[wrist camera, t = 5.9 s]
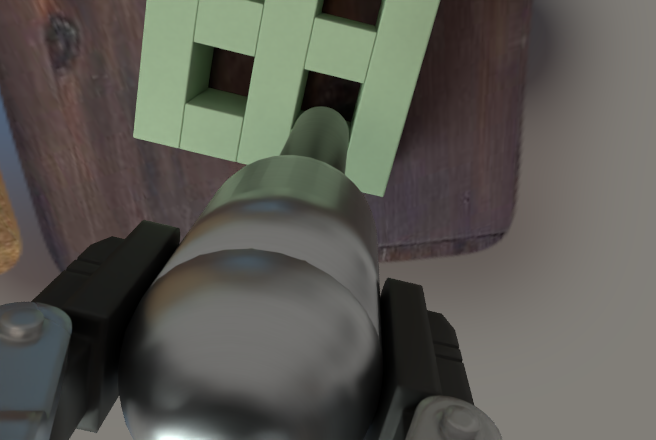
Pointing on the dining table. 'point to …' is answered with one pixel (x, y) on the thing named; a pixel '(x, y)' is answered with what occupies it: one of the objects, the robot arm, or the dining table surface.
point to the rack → (279, 76)
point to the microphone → (265, 307)
